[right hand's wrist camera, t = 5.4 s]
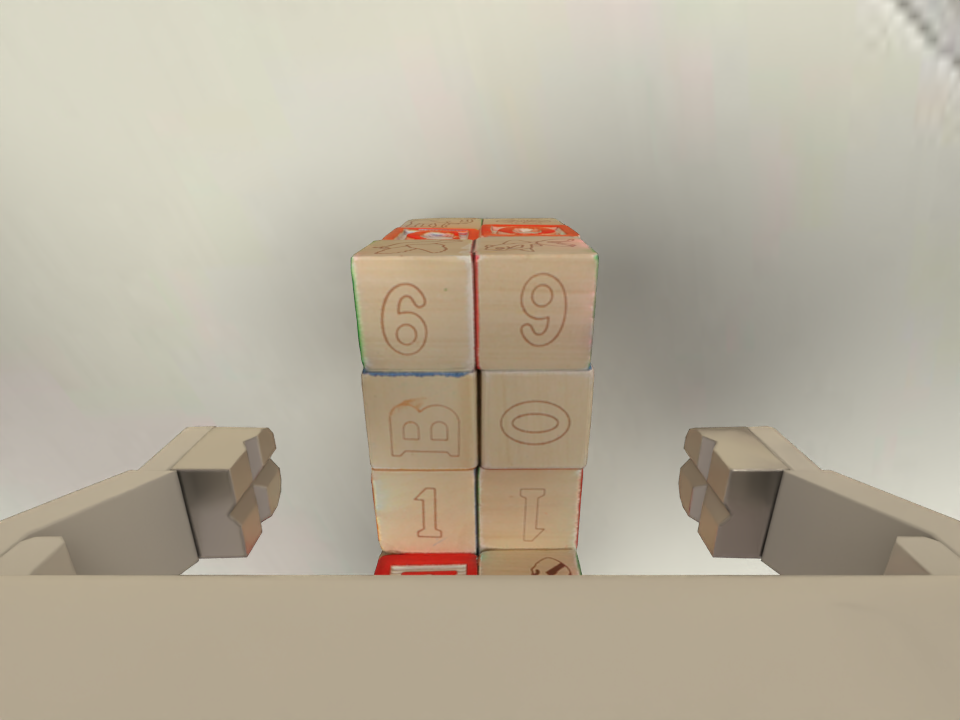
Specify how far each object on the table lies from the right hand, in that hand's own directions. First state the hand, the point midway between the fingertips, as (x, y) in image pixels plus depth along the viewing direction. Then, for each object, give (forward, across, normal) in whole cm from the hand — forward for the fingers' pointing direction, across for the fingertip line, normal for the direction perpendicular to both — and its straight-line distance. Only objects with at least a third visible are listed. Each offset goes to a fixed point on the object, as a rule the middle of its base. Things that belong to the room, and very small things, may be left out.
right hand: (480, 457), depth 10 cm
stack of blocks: (+13, 0, -7) cm, 15 cm away
